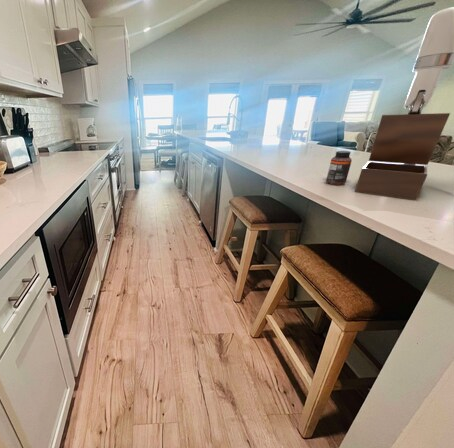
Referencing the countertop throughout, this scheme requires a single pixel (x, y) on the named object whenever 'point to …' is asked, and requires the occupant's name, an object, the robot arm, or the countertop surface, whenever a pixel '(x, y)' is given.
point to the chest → (392, 179)
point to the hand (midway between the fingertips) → (407, 132)
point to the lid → (408, 137)
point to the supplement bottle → (339, 168)
